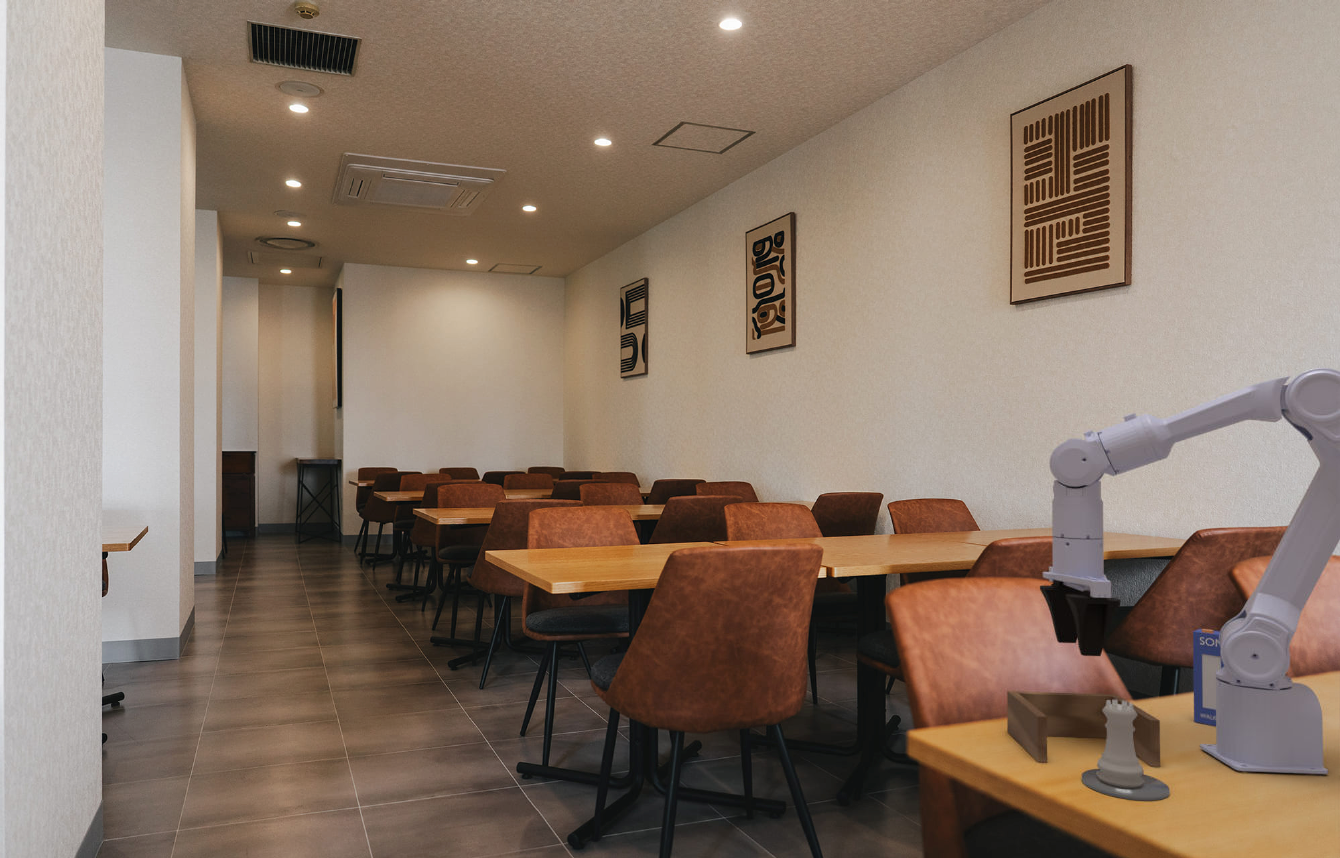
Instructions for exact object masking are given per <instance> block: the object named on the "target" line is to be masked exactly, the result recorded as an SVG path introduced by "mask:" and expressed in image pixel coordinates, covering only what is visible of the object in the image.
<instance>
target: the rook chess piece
mask: <svg viewBox="0 0 1340 858" xmlns="http://www.w3.org/2000/svg"><path fill="white" fill-rule="evenodd" d="M1127 701H1128V700H1127ZM1127 701H1123V700H1122V705H1121V704H1118V700H1112V704H1111V700H1107V701H1106V706H1105V707H1104V708H1103V709H1102V711H1103V713H1104V714H1105V716H1106V717H1107V723H1106V724H1105V727H1106V728H1107V738H1105V746H1104V747H1105V748H1104V750H1103V753H1101V757H1100V758H1099V759H1098V760H1097V763H1096V766H1097V769H1100V770H1099V771H1097V773H1096V775H1097V776H1098V778H1099V779H1100V780H1101V781H1102V782H1103V783H1106V784H1108V785H1111V786H1114V787H1120V788H1130V789H1133V788H1138V787H1140V786H1142V784H1143V783H1144V779H1143V778H1142V777H1141V775H1142V774H1144V773H1145V772H1144V767H1143V765H1142V764H1141V763H1140V762H1139V761H1140V758H1138V757H1137V756H1136V753H1135V749H1134V742H1133V732H1134V731H1135V728H1134V727H1133V724H1132V723H1133V720H1134V719H1135V718H1136V717H1137V713H1136V711H1135V710H1134V709H1133V705H1134V703H1132V702H1130V703H1129V706H1127Z"/></svg>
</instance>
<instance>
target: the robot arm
mask: <svg viewBox="0 0 1340 858" xmlns="http://www.w3.org/2000/svg"><path fill="white" fill-rule="evenodd" d="M1290 378H1291V375H1286V376H1281V377H1277V378H1273V379H1269V380H1268V379H1267V380H1266V381H1262V382H1259V383H1255V384H1250V385H1247V386H1245V387H1241V388H1239V389H1238V390H1234V391H1232V392H1230V393H1227V394H1225V395H1222V396H1220V397H1216V398H1214V399H1210V400H1209V401H1206V402H1203V403H1201V404H1199V405H1196V406H1194V407H1192V408H1189V409H1186V410H1184V411H1181V412H1179V413H1176V414H1173V415H1171V416H1167V417H1166V418H1161V417H1157V416H1154V415H1152V414H1150V413H1143V414H1142V415H1141V414H1140V415H1138V416H1137V414H1136V413H1135V412H1132V413H1129V414H1126V415H1124V416H1123V419H1124V421H1122V422H1120V423H1116V424H1113V425H1111V426H1109V427H1105V428H1103V429H1100V430H1098V431H1095V432H1094V431H1093V429H1089V430H1087V431H1084V432H1083V436H1084V439H1082V438H1073V437H1072V438H1068V439H1066V440H1065V441H1064V442H1062V443H1060V444H1059V445H1057V446H1055V448H1054V449H1053V451H1052V452H1051V455H1050V458H1049V469H1050V472H1051V474H1052V476H1053V477H1054V478H1055V479H1054V480H1053V485H1052V493H1053V498H1052V501H1051V504H1052V505H1051V507H1052V509H1051V511H1052V515H1051V516H1052V520H1051V521H1052V522H1051V523H1052V525H1051V526H1052V533H1051V534H1052V535H1051V536H1052V566H1048V571H1043V572H1042V578H1044V579H1047V580H1048V581H1049V582H1050V584H1051V585H1046V584H1045V585H1039V590H1040V592H1041V594H1042V595H1043V598H1044V600H1045V602H1046V604H1047V606H1048V611H1049V613H1050V616H1051V621H1052V624H1053V629H1054V634H1055V638H1056V640H1057V643H1059V644H1061V643H1062V644H1078V649H1079V652H1080V655H1081V656H1085V657H1101V655H1102V653H1103V650H1104V646H1105V641H1106V637H1107V633H1108V630H1109V627H1110V624H1111V622H1112V620H1113V618H1114V616H1115V613H1116V612H1117V611H1118V609H1119V608H1120V607H1121V599H1120V598H1117V597H1112V581H1111V580H1109V579H1107V575H1106V574H1104V573H1105V571H1104V567H1105V566H1104V560H1105V559H1104V547H1105V546H1104V501H1103V500H1102V481H1101V479H1102V478H1103V477H1104V474H1107V475H1109V476H1111V477H1115V476H1117V475H1121V474H1124V473H1127V472H1130V471H1132V470H1136V469H1139V468H1141V467H1144V466H1146V465H1147V466H1148V465H1150V464H1153V463H1156V462H1158V461H1162V460H1165V459H1167V458H1168V457H1169V456H1170V453H1171V450H1172V448H1173V446H1174V445H1175V444H1176V443H1178V442H1182V441H1185V440H1189V439H1191V438H1194V437H1197V436H1202V435H1204V434H1207V433H1211V432H1214V431H1216V430H1219V429H1223V428H1226V427H1230V426H1231V425H1235V424H1238V423H1241V422H1244V421H1259V422H1267V423H1268V422H1269V423H1277V422H1279V421H1281V420H1282V419H1283V418H1284V420H1285V421H1287V422H1288V423H1289V424H1290V425H1291V426H1292V427H1293V428H1294V429H1295V430H1296V431H1297V432H1299V433H1300V434H1301V435H1302V436H1303V437H1304V438H1305V439H1307V443H1308V444H1309V446H1310V448H1311V450H1312V452H1313V453H1314V454H1315V455H1314V456H1315V457H1316V459H1317V460H1318V462H1319V466H1318V468H1317V470H1316V472H1315V473H1314V476H1313V478H1312V480H1311V481H1310V484H1309V485H1308V488H1307V489H1306V491H1305V493H1304V495H1303V497H1302V499H1301V500H1300V502H1299V505H1298V507H1297V508H1296V511H1295V513H1294V515H1293V516H1292V518H1291V521H1290V522H1289V524H1288V526H1287V528H1286V529H1285V532H1284V533H1283V535H1282V537H1281V540H1280V542H1279V543H1278V545H1277V548H1276V549H1275V551H1274V553H1273V555H1272V556H1271V559H1270V560H1269V561H1268V562H1269V563H1268V565H1267V567H1266V568H1265V570H1264V572H1263V574H1262V576H1261V577H1260V579H1259V581H1258V584H1257V585H1256V587H1255V589H1254V591H1253V592H1252V593H1251V595H1250V596H1249V598H1248V599H1247V600H1246V602H1245V603H1244V604H1245V605H1244V606H1243V608H1242V609H1241V611H1240V612H1239V613H1238V614H1237V615H1235V616H1234V617H1232V618H1231V619H1229V620H1228V621H1227V622H1225V623H1224V625H1223V626H1222V627H1221V629H1220V630H1219V631H1220V634H1219V645H1220V648H1221V651H1220V653H1221V659H1222V662H1223V664H1224V667H1223V668H1221V669H1220V670H1218V671H1216V672H1215V675H1216V726H1215V727H1216V728H1215V730H1216V731H1215V733H1216V734H1215V735H1216V736H1215V737H1216V738H1215V739H1216V740H1215V741H1216V742H1215V743H1216V744H1211V743H1210V744H1209V743H1200V744H1199V748H1200V749H1201V750H1202V751H1204V752H1206V754H1207V753H1208V754H1209V755H1211V756H1212V757H1214V758H1216V759H1217V760H1219V761H1220V762H1222V763H1224V764H1225V765H1227V766H1228V767H1230V768H1232V769H1234V770H1235V771H1241V772H1259V773H1260V772H1261V773H1263V772H1264V773H1285V774H1288V773H1289V774H1292V773H1293V774H1312V775H1313V774H1314V775H1327V774H1328V773H1329V769H1327V768H1326V767H1324V733H1323V732H1324V729H1323V711H1322V710H1323V709H1322V706H1321V703H1320V701H1319V698H1318V696H1317V694H1316V693H1315V691H1314V690H1313V689H1312V688H1311V687H1309V686H1308V685H1306V684H1304V683H1300V682H1293V680H1292V678H1291V677H1290V676H1287V675H1286V674H1287V672H1288V671H1289V668H1290V665H1291V655H1290V652H1291V651H1290V645H1291V642H1292V640H1293V637H1294V635H1295V633H1296V631H1297V629H1298V624H1299V621H1300V618H1301V615H1302V612H1303V610H1304V608H1305V606H1306V604H1307V602H1308V600H1309V598H1310V597H1311V595H1312V593H1313V591H1314V589H1315V587H1316V585H1317V583H1318V582H1319V579H1320V578H1321V576H1322V574H1323V572H1324V570H1325V568H1326V566H1327V565H1328V563H1329V560H1331V557H1332V555H1333V554H1334V551H1335V550H1336V547H1337V546H1338V544H1339V543H1340V370H1339V369H1338V370H1337V369H1333V368H1330V367H1315V368H1312V369H1307V370H1304V371H1302V372H1301V373H1299V374H1298V375H1297V376H1295V377H1294V378H1293V379H1292V380H1291V381H1290V382H1289V383H1288V384H1286V383H1287V381H1288V380H1289V379H1290Z"/></svg>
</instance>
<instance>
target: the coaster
mask: <svg viewBox="0 0 1340 858" xmlns="http://www.w3.org/2000/svg"><path fill="white" fill-rule="evenodd" d="M1099 770H1100V769H1099V768H1092V769H1087V770H1086V771H1083V772H1082V773H1081V782H1082V783H1083V785H1085V786H1086V787H1088V788H1089V789H1091V790H1093V791H1095V792H1097V793H1099V794H1103V795H1107V796H1110V797H1115V798H1118V799H1124V800H1131V801H1144V802H1148V801H1149V802H1150V801H1159V800H1160V801H1161V800H1164V799H1167V798H1168V797H1169V796H1170V787H1169V785H1168V784H1167V783H1165V782H1164V781H1162V780H1160V779H1158V778H1155V777H1153V776H1151V775H1148V774H1144V773H1143V774H1142V775H1141V777H1142V778H1143V779H1144V783H1143V784H1142V786H1140V787H1138V788H1133V789H1130V788H1120V787H1114V786H1111V785H1108V784H1106V783H1103V782H1102V781H1101V780H1100V779H1099V778H1098V776H1097V775H1096V773H1097V771H1099Z"/></svg>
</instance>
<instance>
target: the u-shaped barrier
mask: <svg viewBox="0 0 1340 858" xmlns="http://www.w3.org/2000/svg"><path fill="white" fill-rule="evenodd" d="M1006 697H1007V699H1006V701H1007V702H1006V703H1007V705H1006V708H1007V710H1006V711H1007V716H1006V717H1007V734H1009V735H1010V736H1011V737H1012V738H1013V740H1015V741H1016V742H1017V743H1018V744H1019V746H1021V747H1022V748H1023V750H1024V751H1026V752H1027V753H1028V754H1029V755H1030V756H1031V757H1032V758H1033V759H1034V760H1035V761H1036V762H1037V763H1045V764H1046V763H1048V737H1063V738H1064V737H1065V738H1067V737H1068V738H1091V739H1092V738H1093V739H1107V728H1106V727H1105V724H1106V723H1107V717H1106V716H1105V714H1104V713H1103V711H1102V709H1103V708H1104V707H1105V706H1106V701H1107V700H1111V704H1112V700H1118V704H1121V705H1122V700H1123V701H1127V706H1129V703H1131V702H1129V701H1128V700H1127V699H1125V698H1123V697H1121V696H1120V695H1118V694H1114V693H1113V694H1111V693H1109V694H1108V693H1106V694H1104V693H1083V692H1081V693H1078V692H1077V693H1076V692H1051V691H1050V692H1049V691H1047V692H1046V691H1019V690H1018V691H1015V690H1014V691H1013V690H1007V696H1006ZM1133 709H1134V710H1135V711H1136V713H1137V717H1136V718H1135V719H1134V720H1133V723H1132V724H1133V727H1134V728H1135V731H1134V732H1133V742H1134V749H1135V753H1136V757H1137V758H1138V759H1139V760H1142V762H1144V763H1145V764H1146V765H1148V766H1150V767H1152V768H1153V767H1154V768H1155V767H1157V768H1160V767H1161V723H1160V722H1161V721H1160V720H1159V719H1158V718H1157V717H1155V716H1153V715H1151V714H1150V713H1148V712H1146V711H1145V710H1143V709H1142V708H1140V707H1138V706H1136V705H1135V704H1133Z"/></svg>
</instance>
